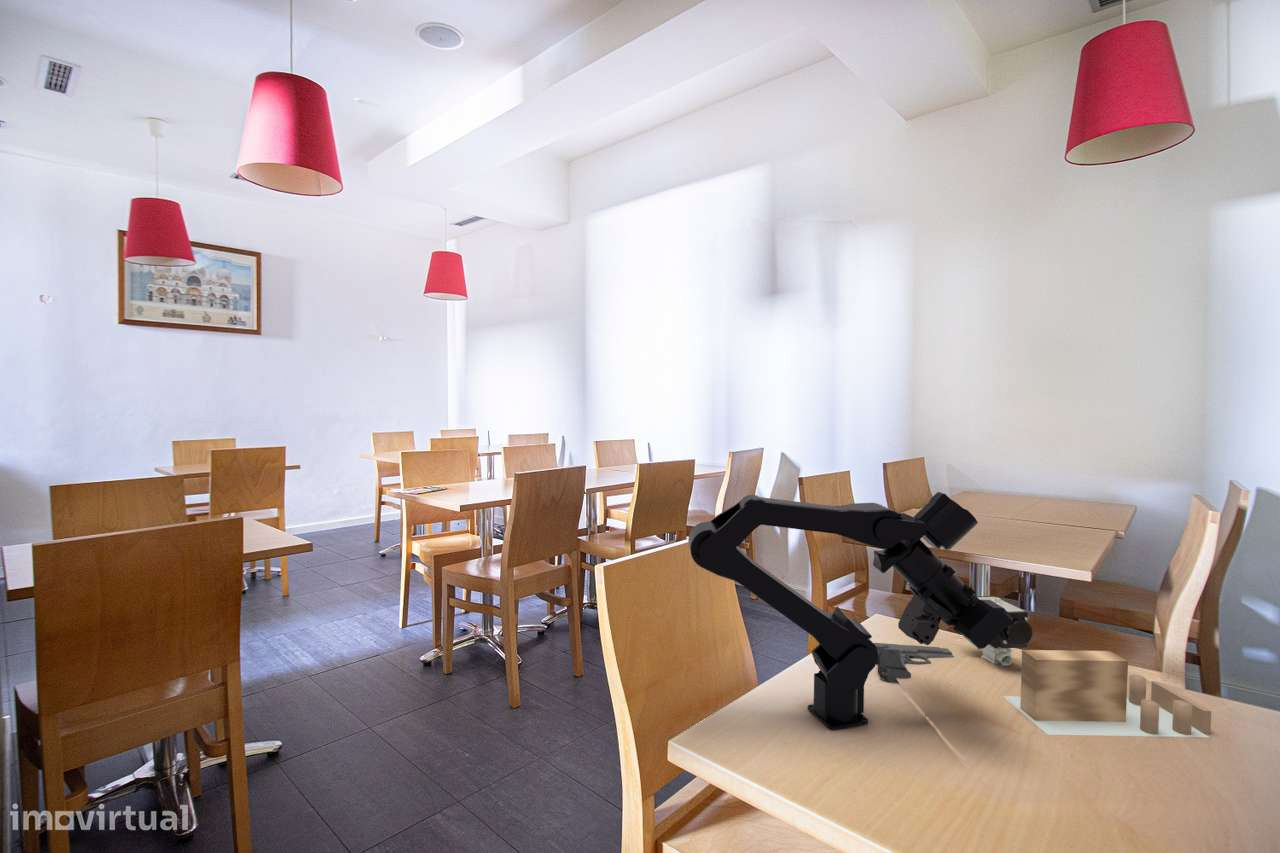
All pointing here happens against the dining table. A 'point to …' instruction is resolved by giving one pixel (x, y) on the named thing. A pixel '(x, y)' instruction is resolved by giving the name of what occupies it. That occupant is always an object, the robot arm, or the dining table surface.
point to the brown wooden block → (1074, 685)
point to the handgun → (904, 658)
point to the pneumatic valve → (1008, 634)
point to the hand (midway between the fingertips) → (997, 645)
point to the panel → (1139, 715)
